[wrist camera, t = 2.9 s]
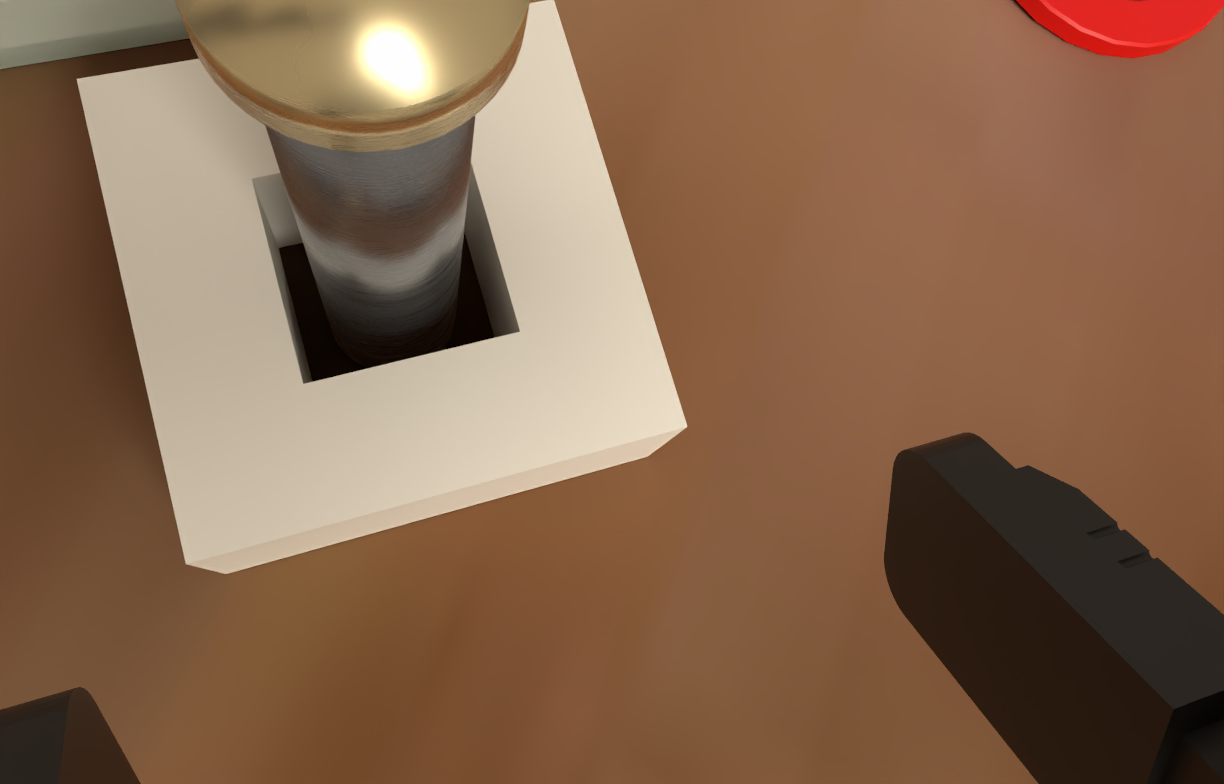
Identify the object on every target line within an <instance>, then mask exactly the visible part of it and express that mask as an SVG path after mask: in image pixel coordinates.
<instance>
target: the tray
mask: <svg viewBox="0 0 1224 784" xmlns="http://www.w3.org/2000/svg"><path fill="white" fill-rule="evenodd" d="M183 39H189V35H188V33H187V30H186V28H185V25H184V23H183V20H182V18H181V15H180V13H179V11H178V8H177V6H176V3H175V1H174V0H0V69H4V68H10V67H17V66H23V65H29V64H35V63H41V62H47V61H53V60H60V59H66V58H72V57H78V56H84V55H90V54H97V53H103V52H109V51H115V50H121V49H127V48H133V47H140V46H146V45H152V44H158V43H164V42H170V41H177V40H183Z"/></svg>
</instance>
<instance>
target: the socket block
mask: <svg viewBox="0 0 1224 784" xmlns="http://www.w3.org/2000/svg"><path fill="white" fill-rule="evenodd" d="M77 83H78V87H79V92H80V96H81V100H82V105H83V109H84V114H85V118H86V123H87V127H88V132H89V136H90V140H91V145H92V149H93V154H94V158H95V163H96V167H97V171H98V176H99V180H100V185H101V189H102V194H103V198H104V203H105V207H106V211H107V216H108V220H109V225H110V229H111V234H112V238H113V242H114V247H115V251H116V256H117V260H118V265H119V269H120V274H121V278H122V282H123V287H124V291H125V296H126V300H127V305H128V309H129V313H130V318H131V322H132V327H133V331H134V336H135V340H136V345H137V349H138V353H139V358H140V362H141V367H142V371H143V376H144V380H145V385H146V389H147V393H148V398H149V402H150V407H151V411H152V416H153V420H154V424H155V429H156V433H157V438H158V442H159V447H160V451H161V456H162V460H163V464H164V469H165V473H166V478H167V482H168V487H169V491H170V495H171V500H172V504H173V509H174V513H175V518H176V522H177V527H178V531H179V535H180V540H181V544H182V549H183V553H184V558H185V562H186V564H187V565H191V566H195V567H199V568H204V569H208V570H212V571H216V572H220V573H224V574H228V573H232V572H236V571H239V570H243V569H246V568H250V567H253V566H257V565H261V564H264V563H268V562H271V561H275V560H279V559H282V558H286V557H289V556H293V555H297V554H300V553H304V552H307V551H311V550H314V549H318V548H322V547H325V546H329V545H332V544H336V543H340V542H343V541H347V540H350V539H354V538H357V537H361V536H365V535H368V534H372V533H375V532H379V531H383V530H386V529H390V528H393V527H397V526H401V525H404V524H408V523H411V522H415V521H418V520H422V519H426V518H429V517H433V516H436V515H440V514H444V513H447V512H451V511H454V510H458V509H461V508H465V507H469V506H472V505H476V504H479V503H483V502H487V501H490V500H494V499H497V498H501V497H505V496H508V495H512V494H515V493H519V492H522V491H526V490H530V489H533V488H537V487H540V486H544V485H548V484H551V483H555V482H558V481H562V480H565V479H569V478H573V477H576V476H580V475H583V474H587V473H591V472H594V471H598V470H601V469H605V468H609V467H612V466H616V465H619V464H623V463H626V462H630V461H634V460H637V459H641V458H644V457H647V456H649V455H650V454H651V453H653V452H654V451H656V450H657V449H658V448H660V447H661V446H662V445H664V444H665V443H666V442H668V441H669V440H670V439H672V438H673V437H674V436H676V435H677V434H678V433H680V432H681V431H682V430H684V429H685V428H686V427H687V424H686V421H685V418H684V414H683V411H682V408H681V405H680V402H679V398H678V395H677V392H676V389H675V386H674V382H673V379H672V376H671V373H670V370H669V366H668V363H667V360H666V357H665V354H664V350H663V347H662V344H661V341H660V338H659V334H658V331H657V328H656V325H655V322H654V319H653V315H652V312H651V309H650V306H649V303H648V299H647V296H646V293H645V290H644V287H643V283H642V280H641V277H640V274H639V271H638V267H637V264H636V261H635V258H634V255H633V251H632V248H631V245H630V242H629V239H628V235H627V232H626V229H625V226H624V223H623V219H622V216H621V213H620V210H619V207H618V203H617V200H616V197H615V194H614V191H613V187H612V184H611V181H610V178H609V175H608V171H607V168H606V165H605V162H604V159H603V155H602V152H601V149H600V146H599V143H598V140H597V136H596V133H595V130H594V127H593V124H592V120H591V117H590V114H589V111H588V108H587V104H586V101H585V98H584V95H583V92H582V88H581V85H580V82H579V79H578V76H577V72H576V69H575V66H574V63H573V60H572V56H571V53H570V50H569V47H568V44H567V40H566V37H565V34H564V31H563V28H562V24H561V21H560V18H559V15H558V12H557V8H556V5H555V2H554V0H546V1H540V2H534V3H530V4H529V10H528V16H527V22H526V28H525V33H524V38H523V43H522V47H521V50H520V53H519V55H518V58H517V61H516V63H515V66H514V67H513V69H512V71H511V73H510V75H509V77H508V78H507V80H506V82H505V83H504V85H503V86H502V87H501V89H500V90H499V91H498V93H497V94H496V95H495V97H494V98H493V99H492V100H491V101H490V102H489V103H488V104H487V105H486V106H485V107H484V108H483V109H482V110H481V111H480V112H479V113H477V114H476V115H475V125H474V135H473V145H472V155H471V166H470V176H469V186H468V196H467V207H466V217H465V227H464V232H465V236H466V240H467V243H468V247H469V250H470V254H471V257H472V261H473V264H474V268H475V271H476V275H477V278H478V282H479V285H480V289H481V292H482V296H483V299H484V303H485V306H486V310H487V313H488V317H489V320H490V324H491V327H492V331H493V334H494V338H491V339H487V340H483V341H479V342H475V343H471V344H467V345H463V346H458V347H454V348H450V349H446V350H442V351H438V352H434V353H429V354H425V355H421V356H417V357H413V358H409V359H405V360H401V361H396V362H392V363H388V364H384V365H380V366H376V367H372V368H367V369H363V370H359V371H355V372H351V373H347V374H343V375H339V376H334V377H330V378H326V379H322V380H318V381H314V382H313V381H312V377H311V373H310V369H309V366H308V362H307V358H306V354H305V350H304V346H303V342H302V338H301V334H300V330H299V326H298V322H297V318H296V314H295V310H294V306H293V302H292V298H291V294H290V290H289V286H288V283H287V279H286V275H285V271H284V267H283V263H282V259H281V255H280V251H279V248H281V247H286V246H290V245H295V244H300V243H303V241H302V238H301V235H300V232H299V229H298V225H297V222H296V219H295V216H294V213H293V210H292V207H291V204H290V201H289V198H288V194H287V191H286V188H285V185H284V182H283V179H282V176H281V173H280V170H279V167H278V164H277V160H276V157H275V154H274V151H273V148H272V145H271V142H270V139H269V136H268V133H267V129H266V126H265V125H264V124H262V123H261V122H259V121H258V120H256V119H255V118H253V117H251V116H250V115H248V114H247V113H246V112H245V111H243V110H242V109H241V108H240V107H239V106H237V105H236V104H235V103H234V102H233V101H232V100H230V99H229V98H228V97H227V95H226V94H225V93H224V92H223V91H222V90H221V89H220V88H219V87H218V85H217V84H216V83H215V82H214V81H213V79H212V78H211V76H210V75H209V74H208V72H207V71H206V69H205V68H204V66H203V65H202V63H201V61H200V59H193V60H187V61H181V62H175V63H169V64H163V65H157V66H151V67H145V68H139V69H133V70H127V71H121V72H115V73H109V74H103V75H98V76H92V77H86V78H80V79H77Z"/></svg>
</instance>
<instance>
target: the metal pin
mask: <svg viewBox="0 0 1224 784" xmlns="http://www.w3.org/2000/svg"><path fill="white" fill-rule="evenodd" d="M174 1H175V3H176V6H177V8H178V11H179V13H180V15H181V18H182V20H183V23H184V25H185V28H186V30H187V33H188V35H189V38H190V40H191V43H192V45H193V47H194V49H195V51H196V53H197V55H198V57H199V59H200V61H201V63H202V65H203V66H204V68H205V69H206V71H207V72H208V74H209V75H210V76H211V78H212V79H213V81H214V82H215V83H216V84H217V85H218V87H219V88H220V89H221V90H222V91H223V92H224V93H225V94H226V95H227V97H228V98H229V99H230V100H232V101H233V102H234V103H235V104H236V105H237V106H239V107H240V108H241V109H242V110H243V111H245V112H246V113H247V114H248V115H250V116H251V117H253V118H255V119H256V120H258V121H259V122H261V123H262V124H264V125H265V126H266V129H267V133H268V136H269V139H270V142H271V145H272V148H273V151H274V154H275V157H276V160H277V164H278V167H279V170H280V173H281V176H282V179H283V182H284V185H285V188H286V191H287V194H288V198H289V201H290V204H291V207H292V210H293V213H294V216H295V219H296V222H297V225H298V229H299V232H300V235H301V238H302V241H303V244H304V247H305V250H306V253H307V256H308V260H309V263H310V266H311V269H312V272H313V275H314V278H315V281H316V284H317V287H318V291H319V294H320V297H321V300H322V303H323V306H324V309H325V312H326V315H327V318H328V321H329V325H330V328H331V331H332V334H333V336H334V338H335V340H336V342H337V344H338V345H339V346H340V348H341V349H342V350H343V351H344V353H345V354H346V355H347V356H348V357H350V358H351V359H352V360H353V361H355V362H356V363H358V364H359V365H361V366H363V367H366V368H372V367H376V366H380V365H384V364H388V363H392V362H396V361H401V360H405V359H409V358H413V357H417V356H421V355H425V354H429V353H434V352H438V351H442V350H443V349H444V348H445V346H446V345H447V343H448V341H449V340H450V338H451V335H452V332H453V330H454V325H455V319H456V309H457V299H458V288H459V278H460V268H461V258H462V247H463V237H464V227H465V217H466V207H467V196H468V186H469V176H470V166H471V155H472V145H473V135H474V125H475V115H476V114H477V113H479V112H480V111H481V110H482V109H483V108H484V107H485V106H486V105H487V104H488V103H489V102H490V101H491V100H492V99H493V98H494V97H495V95H496V94H497V93H498V91H499V90H500V89H501V87H502V86H503V85H504V83H505V82H506V80H507V78H508V77H509V75H510V73H511V71H512V69H513V67H514V66H515V63H516V61H517V58H518V55H519V53H520V50H521V47H522V43H523V38H524V33H525V28H526V22H527V16H528V10H529V4H530V0H174Z"/></svg>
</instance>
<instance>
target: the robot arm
mask: <svg viewBox="0 0 1224 784" xmlns="http://www.w3.org/2000/svg"><path fill="white" fill-rule="evenodd" d="M884 565H885V572H886V576H887V580H888V584H889V587H890V590H891V592H892V594H893V597H894V599H895V601H896V603H897V605H898V606H899V608H900V610H901V611H902V612H903V614H904V615H905V617H906V618H907V619H908V620H909V622H910V623H911V624H912V625H913V627H914V628H915V629H916V630H917V632H918V633H919V634H920V635H921V637H922V638H923V639H924V640H925V642H926V643H927V644H928V645H929V647H930V648H931V649H932V650H933V652H934V653H935V654H936V655H937V657H938V658H939V659H940V661H941V662H942V663H943V664H944V666H945V667H946V668H947V669H948V671H949V672H950V673H951V674H952V676H953V677H954V678H955V679H956V681H957V682H958V683H959V684H960V686H961V687H962V688H963V689H964V691H965V692H966V693H967V694H968V696H969V697H970V698H971V699H972V701H973V702H974V703H975V704H976V706H977V707H978V708H979V709H980V711H981V712H982V713H983V714H984V716H985V717H986V718H987V719H988V721H989V722H990V723H991V724H992V726H993V727H994V728H995V730H996V731H997V732H998V733H999V735H1000V736H1001V737H1002V738H1003V740H1004V741H1005V742H1006V743H1007V745H1008V746H1009V747H1010V748H1011V750H1012V751H1013V752H1014V753H1015V755H1016V756H1017V757H1018V758H1019V760H1020V761H1021V762H1022V763H1023V765H1024V766H1025V767H1026V768H1027V770H1028V771H1029V772H1030V773H1031V775H1032V776H1033V777H1034V778H1035V780H1036V781H1037V782H1038V783H1039V784H1224V615H1223V614H1222V613H1221V612H1220V611H1219V610H1217V609H1216V608H1215V607H1214V606H1213V605H1212V604H1211V603H1209V602H1208V601H1207V600H1206V599H1205V598H1204V597H1202V596H1201V595H1200V594H1199V593H1198V592H1197V591H1195V590H1194V589H1193V588H1192V587H1191V586H1190V585H1189V584H1187V583H1186V582H1185V581H1184V580H1183V579H1182V578H1180V577H1179V576H1178V575H1177V574H1176V573H1175V572H1174V571H1172V570H1171V569H1170V568H1169V567H1168V566H1167V565H1165V564H1164V563H1163V562H1162V561H1161V560H1160V559H1159V558H1155V559H1153V558H1152V557H1151V556H1150V554H1149V550H1148V549H1147V548H1146V547H1145V546H1144V545H1142V544H1141V543H1140V542H1139V541H1138V540H1137V539H1135V538H1134V537H1133V536H1132V535H1131V534H1130V533H1128V532H1127V531H1126V530H1122V531H1121V530H1119V528H1118V526H1117V522H1116V521H1115V520H1113V519H1112V518H1111V517H1110V516H1109V515H1108V514H1107V513H1105V512H1104V511H1103V510H1102V509H1101V508H1100V507H1098V506H1097V505H1096V504H1095V503H1094V502H1093V501H1092V500H1090V499H1089V498H1088V497H1087V496H1086V495H1085V494H1083V493H1082V492H1081V491H1080V490H1079V489H1077V488H1075V487H1073V486H1071V485H1069V484H1066V483H1064V482H1062V481H1060V480H1058V479H1056V478H1054V477H1052V476H1050V475H1048V474H1045V473H1043V472H1041V471H1039V470H1037V469H1035V468H1033V467H1031V466H1029V465H1028V466H1024V467H1021V468H1018V469H1015V468H1014V467H1013V466H1012V465H1011V464H1010V463H1009V462H1007V461H1006V460H1005V459H1004V458H1003V457H1002V456H1001V455H1000V454H999V453H998V452H996V451H995V450H994V449H993V448H992V447H991V446H990V445H989V444H988V443H987V442H985V441H984V440H983V439H982V438H980V437H979V436H977V435H975V434H972V433H961V434H958V435H954V436H951V437H948V438H944V439H941V440H937V441H934V442H930V443H927V444H923V445H920V446H917V447H913V448H910V449H906V450H903V451H901V452H900V453H899V454H898V455H897V457H896V459H895V462H894V466H893V474H892V483H891V493H890V503H889V513H888V522H887V532H886V542H885V552H884ZM0 784H140V782H139V780H138V778H137V776H136V775H135V773H134V771H133V769H132V767H131V766H130V764H129V762H128V760H127V758H126V757H125V755H124V753H123V751H122V749H121V748H120V746H119V744H118V742H117V740H116V739H115V737H114V735H113V733H112V731H111V729H110V728H109V726H108V724H107V722H106V720H105V719H104V717H103V715H102V713H101V711H100V710H99V708H98V706H97V704H96V702H95V701H94V699H93V698H92V696H91V695H90V694H89V692H88V691H87V690H85V689H84V688H81V687H78V688H74V689H71V690H67V691H64V692H61V693H57V694H54V695H50V696H47V697H43V698H40V699H36V700H33V701H30V702H26V703H23V704H19V705H16V706H12V707H9V708H5V709H2V710H0Z"/></svg>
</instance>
